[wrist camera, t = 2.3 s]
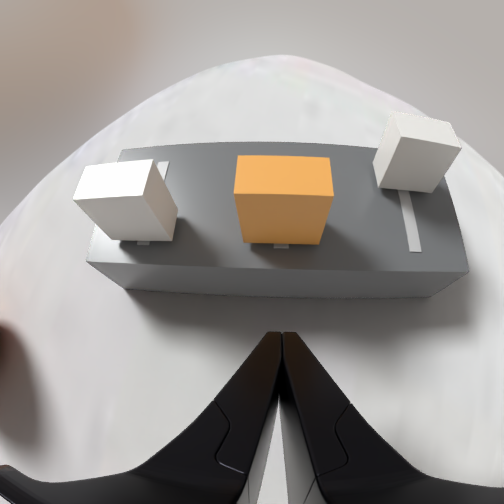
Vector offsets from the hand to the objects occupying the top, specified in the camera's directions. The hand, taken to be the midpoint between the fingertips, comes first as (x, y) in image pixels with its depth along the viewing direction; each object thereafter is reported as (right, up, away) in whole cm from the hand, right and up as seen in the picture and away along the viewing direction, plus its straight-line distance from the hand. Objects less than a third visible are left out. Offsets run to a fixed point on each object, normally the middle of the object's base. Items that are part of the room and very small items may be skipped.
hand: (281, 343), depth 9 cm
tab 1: (-6, +4, +6) cm, 10 cm away
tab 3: (+8, +7, +7) cm, 12 cm away
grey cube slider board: (+1, +4, +11) cm, 12 cm away
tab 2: (+1, +4, +6) cm, 7 cm away
